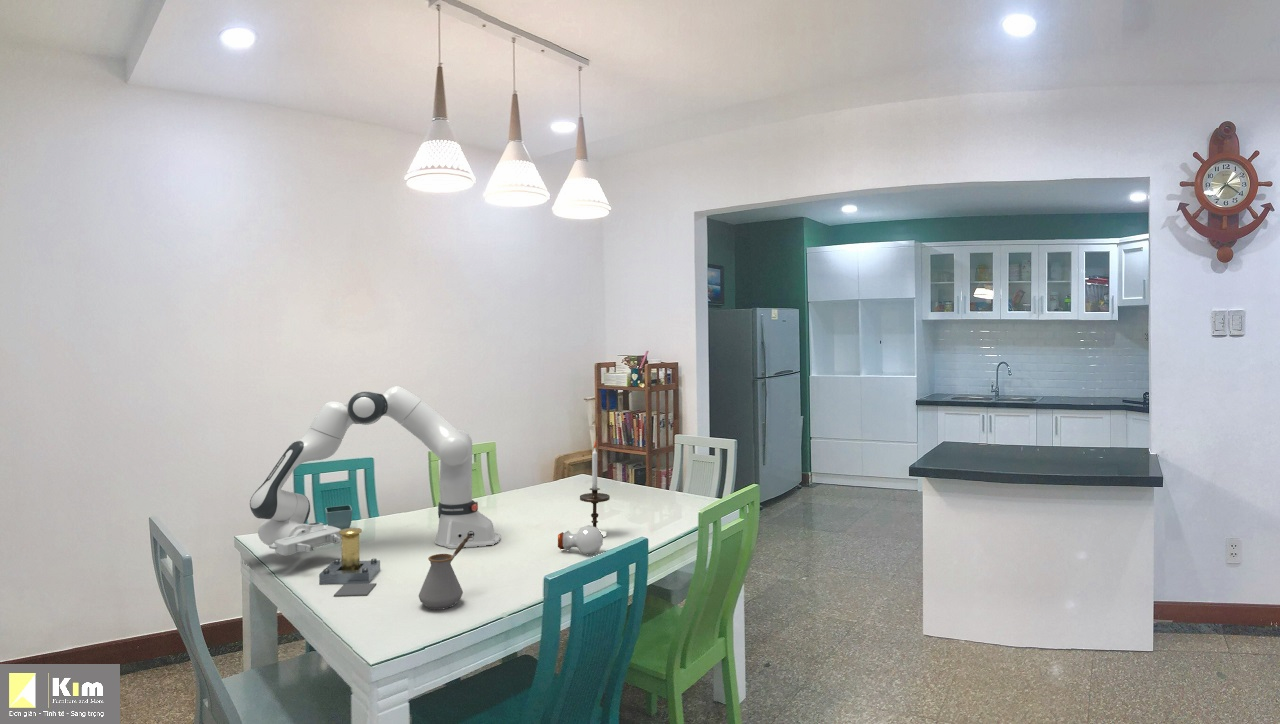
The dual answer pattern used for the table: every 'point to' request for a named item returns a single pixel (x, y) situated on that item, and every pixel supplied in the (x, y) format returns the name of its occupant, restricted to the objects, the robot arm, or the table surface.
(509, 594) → the table surface
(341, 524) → the flower pot
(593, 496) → the candlestick
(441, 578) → the coffee pot
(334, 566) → the housing
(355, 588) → the pad
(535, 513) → the table surface
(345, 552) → the brass flanged cylinder
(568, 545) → the potion bottle
